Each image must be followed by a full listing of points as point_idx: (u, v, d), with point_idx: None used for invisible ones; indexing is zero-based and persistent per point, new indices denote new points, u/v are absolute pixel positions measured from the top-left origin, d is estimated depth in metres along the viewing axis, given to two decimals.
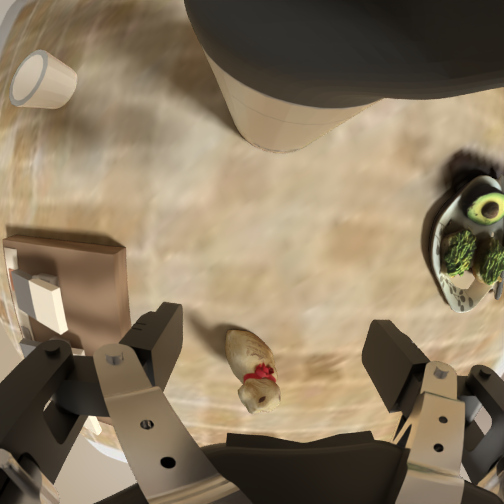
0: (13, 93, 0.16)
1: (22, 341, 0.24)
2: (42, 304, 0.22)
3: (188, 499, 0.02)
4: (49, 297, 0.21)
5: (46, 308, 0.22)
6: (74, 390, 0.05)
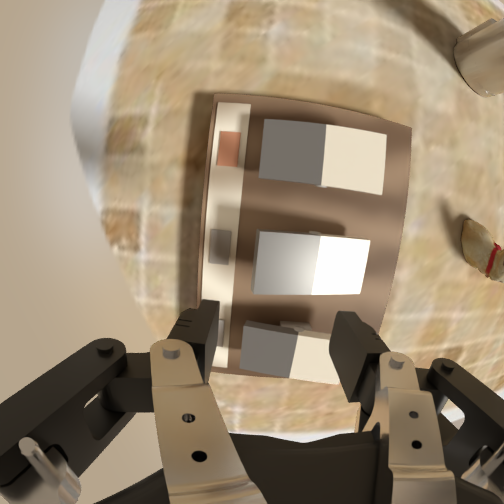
0: None
1: (263, 230, 0.21)
2: (354, 154, 0.19)
3: (207, 493, 0.02)
4: (378, 142, 0.19)
5: (363, 159, 0.19)
6: (129, 388, 0.06)
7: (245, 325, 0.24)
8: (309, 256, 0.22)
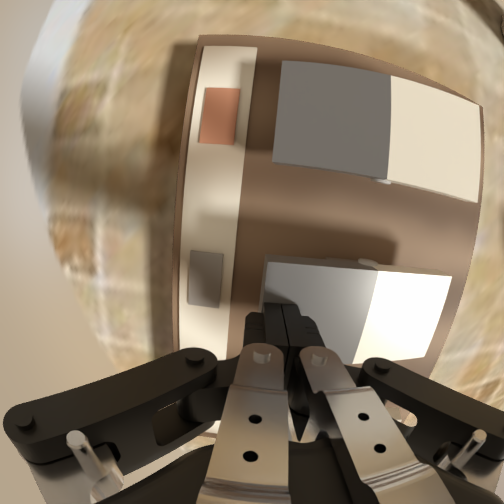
0: None
1: (275, 259, 0.11)
2: (438, 130, 0.09)
3: (240, 491, 0.03)
4: (469, 115, 0.08)
5: (451, 140, 0.09)
6: (221, 396, 0.06)
7: None
8: (355, 306, 0.12)
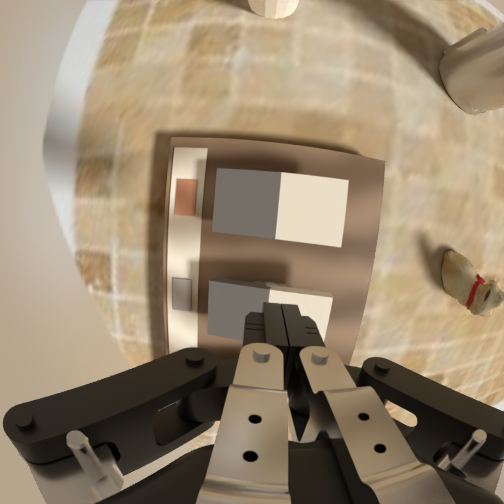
0: None
1: (214, 279, 0.23)
2: (311, 205, 0.20)
3: (240, 491, 0.03)
4: (338, 189, 0.19)
5: (321, 209, 0.19)
6: (221, 396, 0.06)
7: None
8: (258, 308, 0.22)
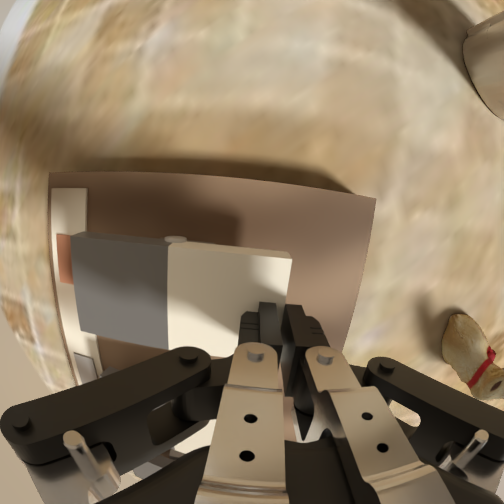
0: None
1: (107, 373, 0.14)
2: (223, 303, 0.11)
3: (238, 491, 0.03)
4: (272, 276, 0.11)
5: (240, 310, 0.11)
6: (214, 395, 0.06)
7: None
8: None
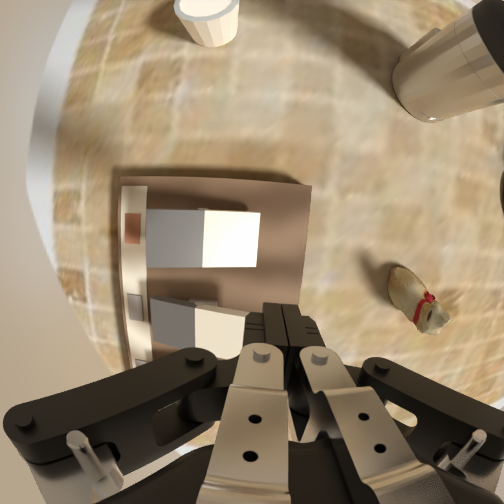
0: (183, 10, 0.18)
1: (155, 297, 0.26)
2: (230, 236, 0.24)
3: (240, 491, 0.03)
4: (252, 221, 0.25)
5: (238, 239, 0.25)
6: (221, 396, 0.06)
7: None
8: (187, 322, 0.25)
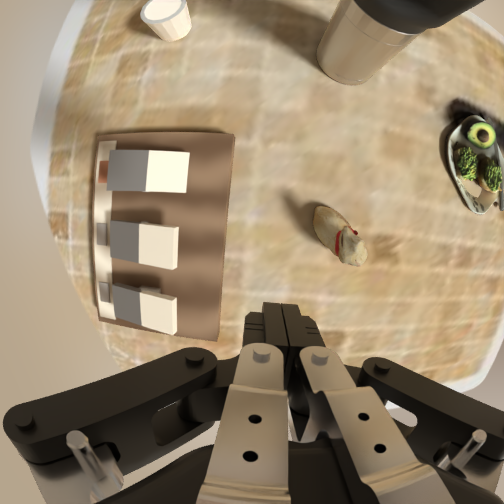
0: (146, 16, 0.24)
1: (113, 220, 0.33)
2: (167, 168, 0.31)
3: (240, 491, 0.03)
4: (183, 158, 0.31)
5: (173, 171, 0.31)
6: (221, 396, 0.06)
7: (113, 284, 0.34)
8: (134, 236, 0.32)
